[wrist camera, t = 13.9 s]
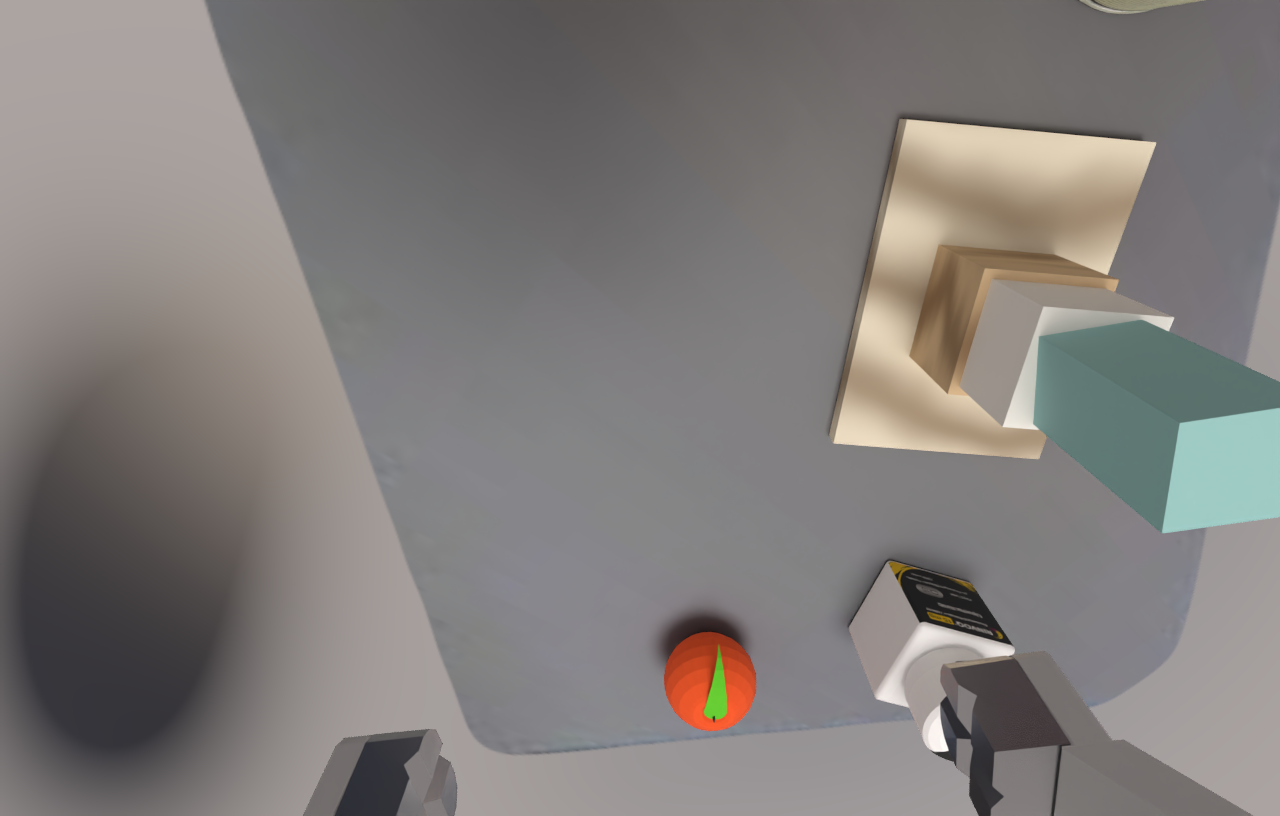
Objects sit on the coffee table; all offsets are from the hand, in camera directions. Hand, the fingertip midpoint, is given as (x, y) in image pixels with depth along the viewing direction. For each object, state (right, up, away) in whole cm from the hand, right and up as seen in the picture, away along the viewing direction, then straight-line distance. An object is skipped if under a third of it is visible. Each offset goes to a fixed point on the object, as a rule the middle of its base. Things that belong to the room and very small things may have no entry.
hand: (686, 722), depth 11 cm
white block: (+20, +9, +25) cm, 33 cm away
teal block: (+20, +7, +21) cm, 30 cm away
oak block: (+20, +11, +31) cm, 38 cm away
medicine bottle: (+20, -10, +42) cm, 48 cm away
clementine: (+5, -13, +44) cm, 46 cm away
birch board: (+20, +12, +32) cm, 39 cm away
